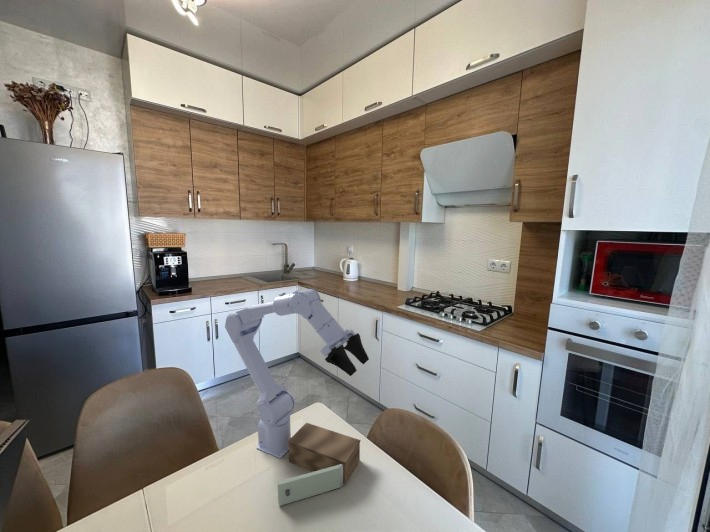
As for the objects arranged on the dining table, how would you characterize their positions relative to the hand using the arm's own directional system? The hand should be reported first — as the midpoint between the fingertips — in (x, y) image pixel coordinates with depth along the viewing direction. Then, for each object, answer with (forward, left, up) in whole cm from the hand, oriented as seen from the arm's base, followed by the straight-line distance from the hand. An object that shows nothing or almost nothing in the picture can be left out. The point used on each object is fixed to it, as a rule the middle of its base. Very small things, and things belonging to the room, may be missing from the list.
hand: (360, 367), depth 74 cm
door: (-9, -10, -31) cm, 33 cm away
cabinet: (-12, +1, -31) cm, 33 cm away
